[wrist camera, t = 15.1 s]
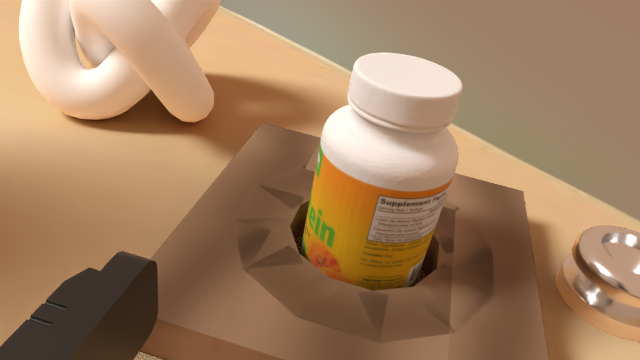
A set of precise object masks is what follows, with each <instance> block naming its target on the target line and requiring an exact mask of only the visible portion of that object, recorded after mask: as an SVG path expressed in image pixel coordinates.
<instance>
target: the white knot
mask: <svg viewBox="0 0 640 360" xmlns="http://www.w3.org/2000/svg"><path fill="white" fill-rule="evenodd" d="M220 1H221V0H22V5H21V12H20V18H19V40H20V46H21V50H22V55H23V60H24V63H25V66H26V68H27V70H28V73H29V75H30V78H31V80H32V82H33V83H34V85H35V86H36V88H37V89H38V91H39V92H40V94H41V95H42V96H43V97H44V98H45V99H46V100H47V101H48V102H49V103H50V104H51V105H52V106H53V107H54V108H56V109H58V110H60V111H61V112H63V113H65V114H67V115H69V116H73V117H76V118H80V119H95V120H100V119H108V118H112V117H115V116H117V115H120V114H122V113H123V112H125V111H127V110H128V109H130V108H131V107H132V106H134V105H135V104H136V103H137V102H138V101H140V100H141V99H142V98H143V97H144V96H145V95H147V93H148V92H149V91H150V90H152V91H153V92H154V93H155V95H156V96H157V97H158V99H159V100H160V101H161V102H162V104H163V105H164V106H165V107H166V109H167V110H168V111H169V112H170V113H171V114H172V115H174V116H175V117H177V118H178V119H180V120H181V121H184V122H197V121H199V120H201V119H204V118H206V117H207V116H208V114H209V113H210V111H211V110H212V108H213V107H214V92H213V90H212V88H211V86H210V84H209V82H208V80H207V78H206V76H205V74H204V72H203V71H202V69H201V67H200V66H199V64H198V62H197V61H196V59H195V58H194V56H193V54H192V52H191V50H190V47H191V46H192V45H193V44H194V43H195V42H196V40H197V39H198V38H199V37H200V35H201V34H202V33H203V32H204V30H205V29H206V27H207V26H208V24H209V23H210V22H211V20H212V18H213V17H214V15H215V13H216V11H217V9H218V7H219V5H220ZM75 33H76V36H77V39H78V42H79V44H80V47H81V49H82V51H83V53H84V55H85V57H86V59H87V61H88V62H89V63H90V65H91V66H92V67H93V69H91V70H88V69H87V68H86V67H85V66H84V65H83V63H82V62H81V60H80V58H79V56H78V53H77V50H76V45H75Z"/></svg>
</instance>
